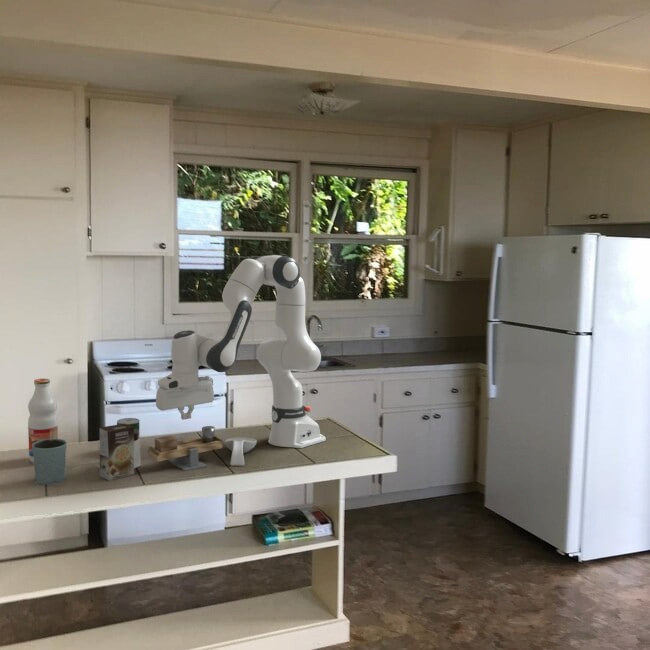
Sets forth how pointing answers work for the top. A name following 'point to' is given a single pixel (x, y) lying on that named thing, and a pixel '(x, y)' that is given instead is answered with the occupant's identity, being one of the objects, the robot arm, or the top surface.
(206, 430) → the cylinder
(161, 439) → the block
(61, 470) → the teal cup
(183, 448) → the beam
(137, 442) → the jar
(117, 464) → the coffee box
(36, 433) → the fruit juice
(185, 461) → the stand
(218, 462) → the top surface
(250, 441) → the spoon rest
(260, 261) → the robot arm
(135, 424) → the canned tomato
